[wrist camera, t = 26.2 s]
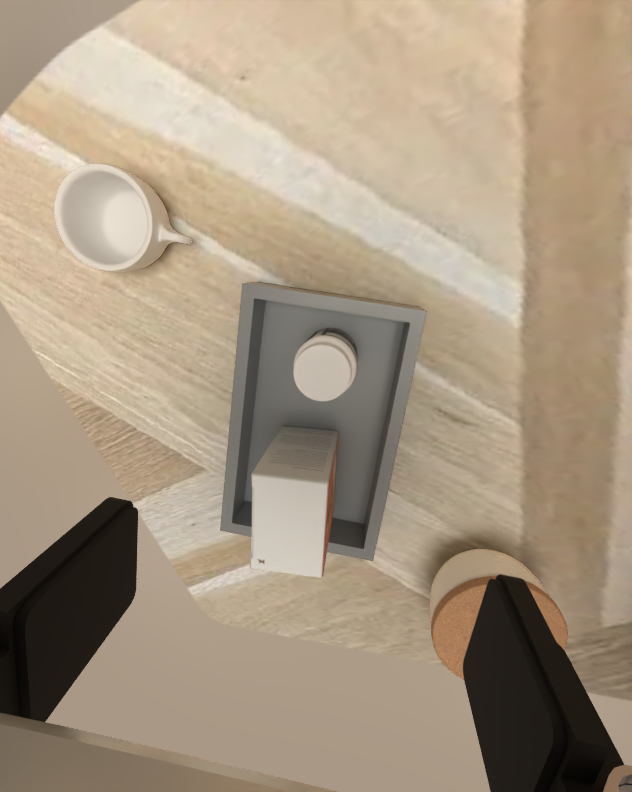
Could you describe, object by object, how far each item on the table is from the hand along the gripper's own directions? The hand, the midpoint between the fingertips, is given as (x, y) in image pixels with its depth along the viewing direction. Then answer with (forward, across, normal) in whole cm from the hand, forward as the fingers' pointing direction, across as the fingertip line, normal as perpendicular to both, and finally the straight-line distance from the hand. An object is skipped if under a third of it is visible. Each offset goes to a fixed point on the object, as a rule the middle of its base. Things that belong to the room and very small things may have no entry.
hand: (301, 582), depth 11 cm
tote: (+28, +2, +5) cm, 29 cm away
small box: (+28, +2, +10) cm, 29 cm away
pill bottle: (+28, +2, -1) cm, 28 cm away
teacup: (+29, +19, -9) cm, 35 cm away
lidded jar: (+28, -16, +19) cm, 38 cm away
